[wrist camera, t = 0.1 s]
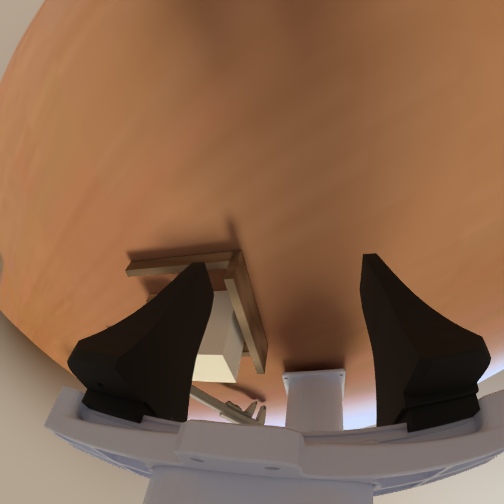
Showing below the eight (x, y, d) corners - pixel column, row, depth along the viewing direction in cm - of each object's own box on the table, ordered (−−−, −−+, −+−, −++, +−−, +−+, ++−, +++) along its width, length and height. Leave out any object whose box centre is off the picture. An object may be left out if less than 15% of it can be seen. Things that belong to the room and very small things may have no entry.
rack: (267, 345, 33) (264, 373, 30) (177, 345, 36) (168, 370, 33) (241, 249, 26) (233, 278, 23) (131, 261, 29) (114, 286, 25)
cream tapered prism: (248, 320, 31) (236, 382, 25) (197, 321, 33) (178, 379, 26) (238, 289, 29) (222, 354, 22) (184, 292, 30) (158, 352, 24)
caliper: (267, 404, 42) (263, 439, 37) (263, 406, 43) (259, 440, 38) (145, 356, 37) (131, 393, 32) (144, 359, 38) (130, 395, 33)
